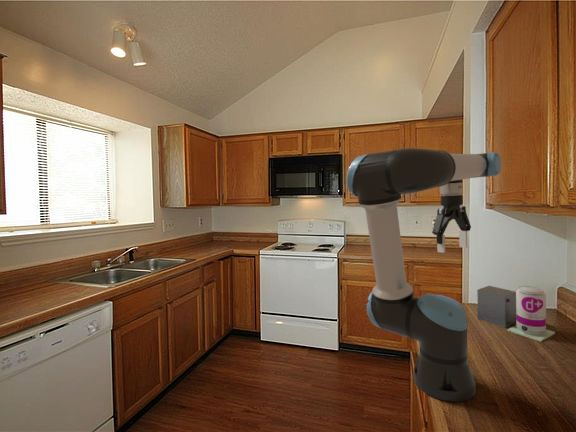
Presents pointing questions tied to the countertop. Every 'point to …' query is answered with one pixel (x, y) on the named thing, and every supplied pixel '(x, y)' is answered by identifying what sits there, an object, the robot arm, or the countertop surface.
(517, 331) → the pad
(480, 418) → the countertop surface
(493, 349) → the countertop surface
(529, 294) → the supplement can
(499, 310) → the box
